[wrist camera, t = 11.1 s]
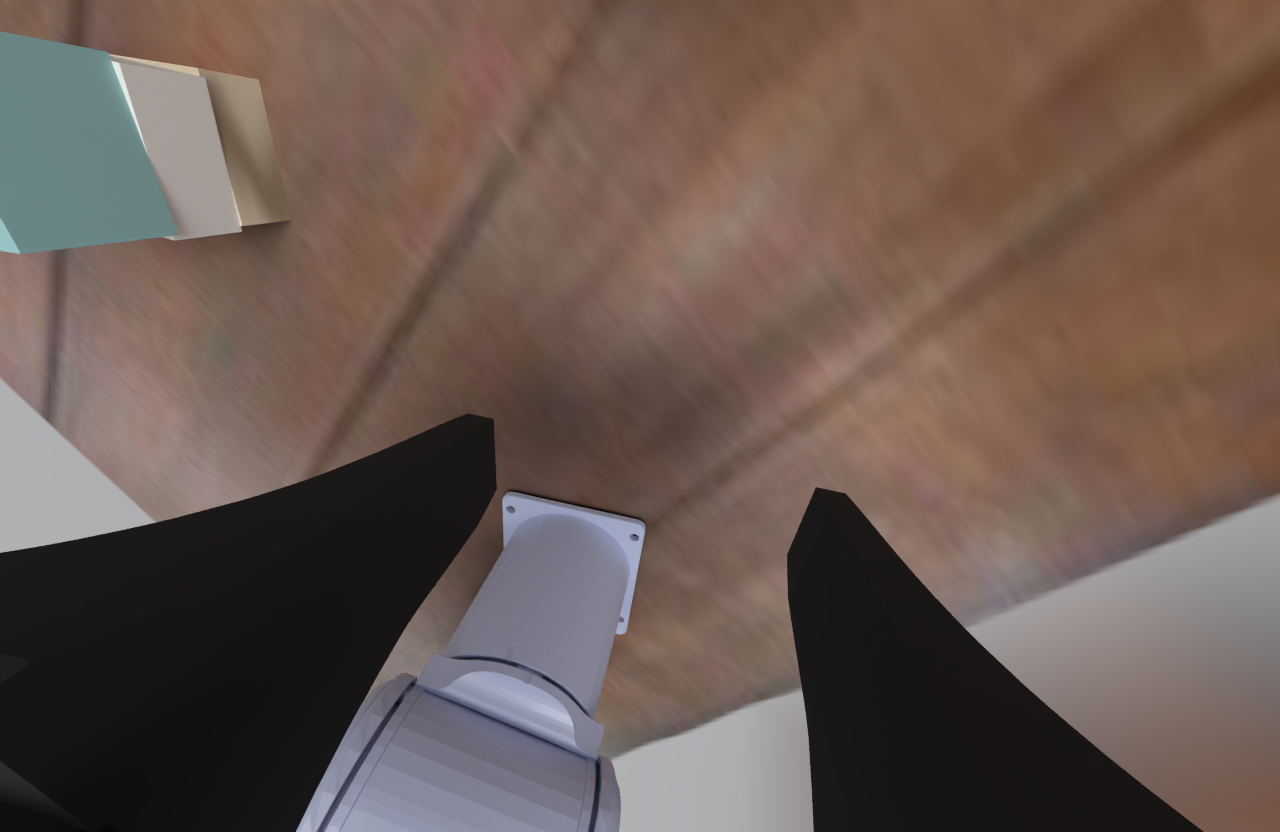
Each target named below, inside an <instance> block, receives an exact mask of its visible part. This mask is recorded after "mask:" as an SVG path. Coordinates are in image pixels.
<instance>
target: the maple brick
mask: <svg viewBox="0 0 1280 832" xmlns="http://www.w3.org/2000/svg"><path fill="white" fill-rule="evenodd" d="M109 55H110V56H114V57H119V58H123V59H127V60H132V61H136V62H140V63H144V64H149V65H153V66H157V67H162V68H166V69H170V70H174V71H179V72H183V73H187V74H192V75H196V76H200V77H204V78H205V79H206V84H207V88H208V92H209V96H210V100H211V105H212V109H213V113H214V117H215V121H216V125H217V130H218V134H219V138H220V142H221V146H222V150H223V155H224V159H225V163H226V167H227V171H228V176H229V180H230V184H231V188H232V192H233V196H234V201H235V205H236V209H237V213H238V217H239V222H240V226H247V225H256V224H264V223H273V222H281V221H290V220H291V218H290V213H289V209H288V205H287V200H286V196H285V192H284V188H283V183H282V179H281V175H280V170H279V166H278V162H277V157H276V153H275V149H274V145H273V140H272V136H271V132H270V127H269V123H268V119H267V114H266V110H265V106H264V102H263V97H262V93H261V89H260V84H259V80H258V79H252V78H247V77H242V76H237V75H231V74H226V73H221V72H215V71H210V70H205V69H200V68H194V67H187V66H181V65H175V64H168V63H162V62H156V61H149V60H143V59H136V58H130V57H124V56H117V55H111V54H109Z"/></svg>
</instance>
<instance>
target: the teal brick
mask: <svg viewBox="0 0 1280 832" xmlns="http://www.w3.org/2000/svg"><path fill="white" fill-rule="evenodd" d="M175 235H178V232H177V229H176V227H175V224H174V222H173V219H172V216H171V214H170V211H169V209H168V206H167V204H166V201H165V198H164V196H163V193H162V191H161V188H160V185H159V183H158V180H157V178H156V175H155V173H154V170H153V167H152V165H151V162H150V160H149V157H148V154H147V152H146V149H145V147H144V144H143V141H142V139H141V136H140V134H139V131H138V129H137V126H136V123H135V121H134V118H133V116H132V113H131V110H130V108H129V105H128V103H127V100H126V98H125V95H124V92H123V90H122V87H121V85H120V82H119V79H118V77H117V74H116V72H115V69H114V67H113V64H112V61H111V59H110V56H109V54H108V52H106V51H101V50H95V49H90V48H85V47H79V46H74V45H69V44H64V43H58V42H53V41H48V40H42V39H37V38H32V37H27V36H21V35H16V34H11V33H5V32H0V251H5V252H12V253H18V254H24V253H33V252H41V251H49V250H58V249H66V248H75V247H83V246H91V245H100V244H108V243H116V242H125V241H133V240H142V239H150V238H158V237H167V236H175Z"/></svg>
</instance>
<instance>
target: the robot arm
mask: <svg viewBox="0 0 1280 832" xmlns="http://www.w3.org/2000/svg"><path fill="white" fill-rule="evenodd" d="M496 489H497V485H496V464H495V443H494V421H493V419H491V418H486V417H482V416H477V415H472V414H466V415H463V416H460V417H458V418H455V419H453V420H450V421H448V422H445V423H443V424H441V425H439V426H436V427H434V428H432V429H429V430H427V431H425V432H423V433H420V434H418V435H416V436H414V437H411V438H409V439H407V440H405V441H402V442H400V443H398V444H395V445H393V446H391V447H389V448H386V449H384V450H382V451H379V452H377V453H375V454H372V455H369V456H367V457H364V458H362V459H359V460H357V461H354V462H352V463H349V464H347V465H344V466H342V467H339V468H337V469H334V470H332V471H329V472H327V473H324V474H321V475H319V476H316V477H313V478H310V479H307V480H305V481H302V482H299V483H296V484H293V485H290V486H287V487H284V488H280V489H277V490H274V491H271V492H268V493H265V494H262V495H259V496H255V497H252V498H248V499H245V500H241V501H238V502H234V503H230V504H226V505H223V506H219V507H215V508H211V509H208V510H204V511H200V512H196V513H193V514H189V515H185V516H181V517H178V518H174V519H170V520H165V521H161V522H157V523H152V524H148V525H144V526H139V527H135V528H130V529H126V530H121V531H116V532H112V533H107V534H102V535H97V536H92V537H88V538H82V539H77V540H73V541H67V542H62V543H57V544H51V545H45V546H39V547H34V548H28V549H22V550H15V551H9V552H3V553H0V832H619V826H620V812H621V801H620V791H619V786H618V784H617V780H616V776H615V771H614V767H613V764H612V762H611V761H610V760H609V759H608V758H606V757H604V756H602V755H599V754H598V753H599V749H600V744H601V740H602V736H603V731H604V725H603V724H601V723H599V722H597V721H595V720H594V719H595V715H596V711H597V706H598V702H599V698H600V694H601V690H602V686H603V682H604V678H605V674H606V670H607V666H608V661H609V657H610V653H611V649H612V645H613V641H614V637H615V634H624V633H626V631H627V626H628V621H629V615H630V610H631V605H632V599H633V594H634V588H635V583H636V578H637V572H638V567H639V562H640V556H641V551H642V545H643V540H644V535H645V529H646V526H645V524H644V523H643V522H642V521H640V520H638V519H633V518H629V517H624V516H620V515H615V514H611V513H606V512H602V511H597V510H593V509H588V508H584V507H579V506H575V505H570V504H566V503H561V502H557V501H552V500H548V499H543V498H539V497H534V496H530V495H525V494H521V493H516V492H507V493H506V494H505V496H504V497H503V500H502V506H503V540H504V550H503V551H502V553H501V555H500V556H499V558H498V560H497V561H496V563H495V565H494V567H493V568H492V570H491V572H490V573H489V575H488V577H487V578H486V580H485V582H484V583H483V585H482V587H481V589H480V590H479V592H478V594H477V595H476V597H475V599H474V600H473V602H472V604H471V605H470V607H469V609H468V610H467V612H466V614H465V616H464V617H463V619H462V621H461V622H460V624H459V626H458V627H457V629H456V631H455V632H454V634H453V636H452V638H451V639H450V641H449V643H448V644H447V646H446V648H445V649H444V651H443V653H442V654H441V655H439V654H433V655H432V657H431V659H430V660H429V662H428V664H427V665H426V667H425V669H424V670H423V672H422V673H421V675H420V677H419V678H418V680H417V677H415V676H412V675H410V674H408V673H402V674H400V675H398V676H397V677H395V678H394V679H392V680H390V681H387V682H385V683H383V684H381V685H379V686H378V687H377V688H376V689H374V690H373V691H372V692H371V694H370V695H369V696H368V697H367V698H366V699H365V697H366V695H367V694H368V692H369V690H370V688H371V686H372V684H373V683H374V681H375V679H376V677H377V675H378V674H379V672H380V670H381V669H382V667H383V665H384V663H385V662H386V660H387V658H388V657H389V655H390V653H391V651H392V650H393V648H394V646H395V645H396V643H397V641H398V639H399V638H400V636H401V634H402V633H403V631H404V629H405V628H406V626H407V625H408V623H409V622H410V620H411V619H412V617H413V616H414V614H415V613H416V611H417V610H418V608H419V607H420V605H421V604H422V603H423V601H424V600H425V598H426V597H427V596H428V594H429V593H430V591H431V590H432V589H433V587H434V586H435V585H436V583H437V582H438V580H439V579H440V578H441V576H442V575H443V573H444V572H445V571H446V569H447V568H448V566H449V565H450V564H451V562H452V561H453V560H454V558H455V557H456V555H457V554H458V553H459V551H460V550H461V548H462V547H463V545H464V544H465V543H466V541H467V540H468V538H469V537H470V536H471V534H472V533H473V531H474V530H475V528H476V527H477V525H478V523H479V522H480V520H481V518H482V516H483V514H484V513H485V511H486V509H487V507H488V505H489V503H490V501H491V499H492V497H493V495H494V493H495V491H496ZM510 506H512V507H513V508H514V509H513V508H511V507H510ZM632 534H636V535H638V536H634V535H632ZM787 575H788V600H789V607H790V614H791V621H792V627H793V634H794V640H795V647H796V653H797V659H798V666H799V672H800V678H801V684H802V691H803V696H804V703H805V710H806V718H807V727H808V736H809V751H810V766H811V782H812V802H813V825H814V832H1203V831H1202V830H1201V829H1199V828H1198V827H1197V826H1195V825H1194V824H1192V822H1190V821H1189V820H1188V819H1186V818H1185V817H1184V816H1182V815H1181V814H1180V813H1178V812H1177V811H1176V810H1175V809H1173V808H1172V807H1171V806H1169V805H1168V804H1167V803H1165V802H1164V801H1163V800H1162V799H1160V798H1159V797H1158V796H1156V795H1155V794H1154V793H1152V792H1151V791H1150V790H1149V789H1147V788H1146V787H1145V786H1144V785H1142V784H1141V783H1140V782H1139V781H1137V780H1136V779H1135V778H1134V777H1132V776H1131V775H1130V774H1129V773H1127V772H1126V771H1125V770H1123V769H1122V768H1121V767H1120V766H1119V765H1117V764H1116V763H1115V762H1114V761H1112V760H1111V759H1110V758H1108V757H1107V756H1106V755H1105V754H1104V753H1102V752H1101V751H1100V750H1099V749H1098V748H1097V747H1095V746H1094V745H1093V744H1092V743H1091V742H1089V741H1088V740H1087V739H1086V738H1085V737H1084V736H1082V735H1081V734H1080V733H1079V732H1078V731H1076V730H1075V729H1074V728H1073V727H1072V726H1070V725H1069V724H1068V723H1067V722H1066V721H1065V720H1063V719H1062V718H1061V717H1060V716H1059V715H1058V714H1056V713H1055V712H1054V711H1053V710H1052V709H1050V708H1049V707H1048V706H1047V705H1046V704H1045V703H1044V702H1042V701H1041V700H1040V699H1039V698H1038V697H1037V696H1036V695H1035V694H1034V693H1032V692H1031V691H1030V690H1029V689H1028V688H1027V687H1026V686H1024V685H1023V684H1022V683H1021V682H1020V681H1019V680H1018V679H1017V678H1016V677H1015V676H1014V675H1013V674H1012V673H1011V672H1009V670H1007V669H1006V668H1005V667H1004V666H1003V665H1002V664H1001V663H1000V662H999V661H998V660H997V659H996V658H995V657H994V656H993V655H991V654H990V653H989V652H988V651H987V650H986V649H985V648H984V647H983V646H982V645H981V644H980V643H979V642H978V641H977V640H976V639H975V638H974V637H973V636H972V635H971V634H970V633H969V632H968V631H967V630H966V629H965V628H964V627H963V626H962V625H961V624H960V623H959V622H958V621H957V620H956V619H955V618H954V617H953V616H952V615H951V613H950V612H949V611H948V610H947V609H946V608H945V607H944V606H943V605H942V604H941V603H940V602H939V601H938V600H937V599H936V598H935V597H934V596H933V594H932V593H931V592H930V591H929V590H928V589H927V588H926V587H925V586H924V585H923V583H922V582H921V581H920V580H919V579H918V578H917V577H916V576H915V574H914V573H913V572H912V571H911V570H910V569H909V568H908V566H907V565H906V564H905V563H904V562H903V561H902V560H901V558H900V557H899V556H898V555H897V554H896V552H895V551H894V550H893V549H892V548H891V547H890V545H889V544H888V543H887V542H886V541H885V539H884V538H883V537H882V536H881V535H880V533H879V532H878V531H877V530H876V529H875V527H874V526H873V525H872V524H871V523H870V521H869V520H868V519H867V518H866V517H865V515H864V514H863V513H862V512H861V511H860V509H859V508H858V507H857V506H856V505H855V504H854V502H853V501H852V500H851V499H850V498H849V497H848V496H847V495H846V494H845V493H841V492H836V491H831V490H827V489H822V488H817V487H816V488H815V491H814V493H813V495H812V498H811V500H810V502H809V505H808V507H807V509H806V512H805V514H804V516H803V519H802V521H801V523H800V526H799V528H798V531H797V533H796V535H795V538H794V540H793V542H792V545H791V547H790V549H789V552H788V554H787ZM364 699H365V700H364ZM363 701H364V702H363Z"/></svg>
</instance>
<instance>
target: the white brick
mask: <svg viewBox="0 0 1280 832" xmlns="http://www.w3.org/2000/svg"><path fill="white" fill-rule="evenodd" d="M109 56H110V55H109ZM110 59H111V61H112V64H113V67H114V69H115V72H116V74H117V77H118V79H119V82H120V85H121V87H122V90H123V92H124V95H125V98H126V100H127V103H128V105H129V108H130V110H131V113H132V116H133V118H134V121H135V123H136V126H137V129H138V131H139V134H140V136H141V139H142V141H143V144H144V147H145V149H146V152H147V154H148V157H149V160H150V162H151V165H152V167H153V170H154V173H155V175H156V178H157V180H158V183H159V185H160V188H161V191H162V193H163V196H164V198H165V201H166V204H167V206H168V209H169V211H170V214H171V216H172V219H173V222H174V224H175V227H176V229H177V232H178V235H175V236H167V237H163V238H167V239H171V240H182V239H190V238H198V237H206V236H213V235H221V234H229V233H237V232H242V230H241V226H240V222H239V217H238V213H237V209H236V205H235V201H234V196H233V192H232V188H231V184H230V180H229V176H228V171H227V167H226V163H225V159H224V155H223V150H222V146H221V142H220V138H219V134H218V130H217V125H216V121H215V117H214V113H213V109H212V105H211V100H210V96H209V92H208V88H207V84H206V79H205V78H204V77H200V76H196V75H192V74H187V73H183V72H179V71H174V70H170V69H166V68H162V67H157V66H153V65H149V64H144V63H140V62H136V61H132V60H127V59H123V58H119V57H114V56H110Z"/></svg>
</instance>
